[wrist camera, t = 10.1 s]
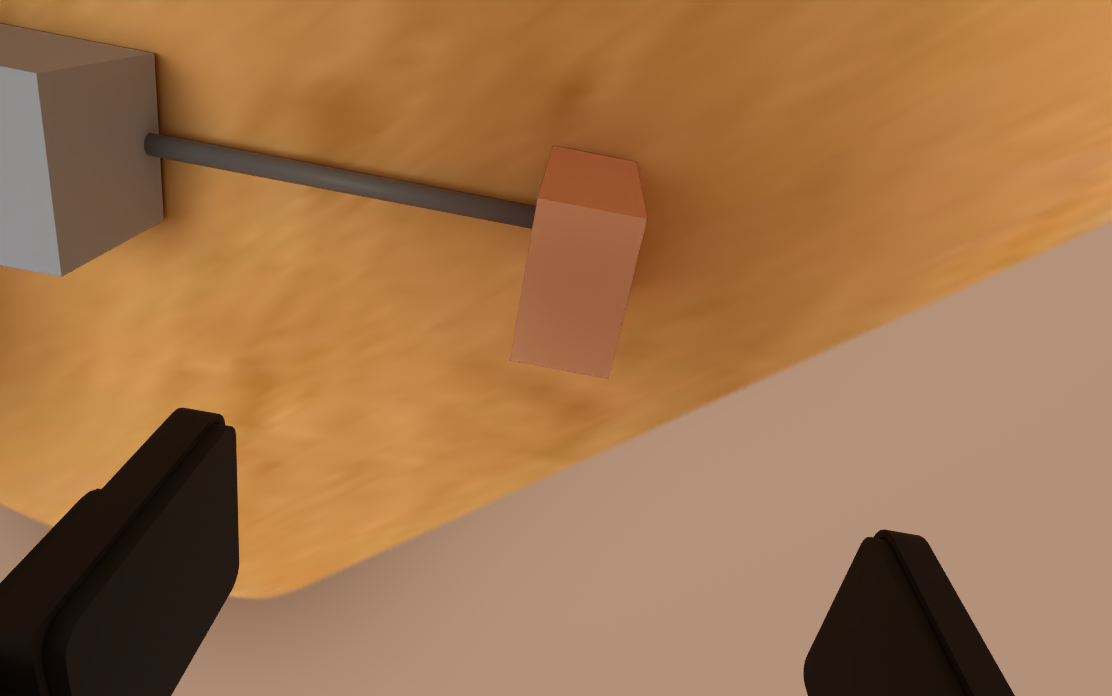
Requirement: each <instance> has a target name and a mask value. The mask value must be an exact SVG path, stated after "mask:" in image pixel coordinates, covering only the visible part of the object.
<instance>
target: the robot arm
mask: <svg viewBox="0 0 1112 696" xmlns="http://www.w3.org/2000/svg"><path fill="white" fill-rule="evenodd" d="M238 569H239V537H238V497H237V456H236V432H235V429H234V428H233V427H232V426H226V425H225V420H224V418H223V416H222V415H220V414H216V413H210V412H205V411H199V410H193V409H187V408H178V409H177V410H175V411H174V412H173V413H172V414H171V415H170V416H169V417H168V418H167V419H166V420H165V422H164V423H163V424H162V425H161V426H160V427H159V428H158V429H157V430H156V431H155V432H154V433H153V434H152V436H151V437H150V438H149V439H148V440H147V441H146V442H145V443H144V444H143V445H142V446H141V447H140V448H139V450H138V451H137V452H136V453H135V454H134V455H133V456H132V457H131V458H130V459H129V460H128V461H127V462H126V464H125V465H124V466H123V467H122V468H121V469H120V470H119V471H118V472H117V473H116V474H115V475H114V476H113V478H112V479H111V480H110V481H109V482H108V483H107V484H106V485H105V486H104V487H103V488H102V489H95V490H93V491H90V492H88V493H87V494H86V495H85V496H83V497H82V498H81V499H80V500H79V501H78V502H77V503H76V504H75V505H74V506H73V507H72V508H71V509H70V510H69V511H68V512H67V514H66V515H65V516H64V517H63V518H62V519H61V520H60V521H59V522H58V523H57V524H56V525H55V526H54V527H53V528H52V529H51V530H50V531H49V533H48V534H47V535H46V536H45V537H44V538H43V539H42V540H41V541H40V542H39V543H38V544H37V545H36V546H35V547H34V548H33V549H32V550H31V551H30V552H29V554H28V555H27V556H26V557H25V558H24V559H23V560H22V561H21V562H20V563H19V564H18V565H17V566H16V567H15V568H14V569H13V570H12V571H11V572H10V573H9V574H8V576H7V577H6V578H5V579H4V580H3V581H2V582H1V583H0V696H171V695H172V693H173V691H174V690H175V688H176V686H177V684H178V683H179V681H180V679H181V677H182V676H183V674H184V672H185V670H186V669H187V667H188V665H189V664H190V662H191V660H192V658H193V656H194V655H195V653H196V651H197V650H198V648H199V646H200V644H201V643H202V641H203V639H204V637H205V636H206V634H207V632H208V631H209V629H210V627H211V625H212V624H213V622H214V620H215V618H216V616H217V615H218V613H219V611H220V610H221V608H222V606H223V604H224V603H225V601H226V599H227V597H228V596H229V594H230V592H231V590H232V588H233V586H234V584H235V581H236V578H237V574H238ZM804 682H805V687H806V690H807V694H808V696H1015V695H1014V694H1013V692H1012V690H1011V688H1010V686H1009V685H1008V683H1007V681H1006V680H1005V678H1004V676H1003V674H1002V672H1001V671H1000V669H999V667H998V665H997V664H996V662H995V660H994V659H993V657H992V655H991V653H990V651H989V649H988V648H987V646H986V644H985V642H984V641H983V639H982V637H981V635H980V634H979V632H978V630H977V628H976V627H975V625H974V623H973V621H972V620H971V618H970V616H969V614H968V613H967V611H966V609H965V607H964V606H963V604H962V602H961V600H960V598H959V597H958V595H957V593H956V591H955V590H954V588H953V586H952V584H951V583H950V581H949V579H948V577H947V576H946V574H945V572H944V570H943V568H942V567H941V565H940V563H939V561H938V560H937V558H936V556H935V554H934V553H933V551H932V549H931V548H930V546H929V544H928V542H927V541H926V540H925V539H924V538H923V537H921V536H919V535H913V534H907V533H901V532H895V531H890V530H880V531H879V532H877V533H876V534H875V536H874V537H867V538H866V539H864V540H863V542H862V543H861V545H860V547H859V549H858V552H857V553H856V556H855V558H854V560H853V562H852V564H851V566H850V568H849V570H848V572H847V574H846V576H845V579H844V580H843V583H842V585H841V587H840V589H839V591H838V593H837V595H836V597H835V599H834V601H833V603H832V605H831V607H830V610H829V611H828V613H827V616H826V618H825V620H824V622H823V624H822V626H821V628H820V630H819V632H818V634H817V636H816V638H815V640H814V642H813V644H812V647H811V649H810V651H809V653H808V655H807V657H806V660H805V664H804Z"/></svg>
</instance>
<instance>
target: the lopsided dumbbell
mask: <svg viewBox="0 0 1112 696" xmlns="http://www.w3.org/2000/svg"><path fill="white" fill-rule="evenodd" d="M160 158H164V159H169V160H175V161H180V162H185V163H190V164H196V165H201V166H206V167H211V168H217V169H222V170H227V171H232V172H238V173H243V174H248V175H253V176H259V177H264V178H269V179H274V180H280V181H285V182H290V183H295V184H301V185H306V186H311V187H316V188H321V189H327V190H332V191H337V192H342V193H348V194H353V195H358V196H363V197H369V198H374V199H379V200H384V201H390V202H395V203H400V204H405V205H411V206H416V207H421V208H426V209H432V210H437V211H442V212H447V213H453V214H458V215H463V216H468V217H474V218H479V219H484V220H489V221H495V222H500V223H505V224H510V225H516V226H521V227H526V228H531V229H532V233H531V239H530V245H529V251H528V257H527V263H526V268H525V274H524V280H523V286H522V292H521V298H520V303H519V309H518V315H517V321H516V327H515V333H514V338H513V344H512V350H511V356H510V361H514V362H520V363H525V364H531V365H536V366H541V367H547V368H552V369H558V370H563V371H568V372H574V373H579V374H585V375H590V376H595V377H601V378H606V379H609V375H610V371H611V367H612V363H613V359H614V354H615V350H616V346H617V342H618V338H619V334H620V330H621V325H622V321H623V317H624V313H625V309H626V305H627V301H628V296H629V292H630V288H631V284H632V280H633V276H634V272H635V267H636V263H637V259H638V255H639V251H640V247H641V243H642V239H643V234H644V230H645V226H646V222H647V215H646V210H645V205H644V199H643V194H642V189H641V183H640V178H639V173H638V167H637V162H634V161H629V160H623V159H618V158H613V157H608V156H603V155H598V154H592V153H587V152H582V151H577V150H572V149H567V148H562V147H556V146H553V147H552V151H551V154H550V157H549V161H548V164H547V168H546V171H545V174H544V178H543V181H542V185H541V188H540V192H539V195H538V199H537V204H536V206H531V205H526V204H521V203H516V202H510V201H505V200H500V199H495V198H489V197H484V196H479V195H474V194H469V193H463V192H458V191H453V190H448V189H442V188H437V187H432V186H427V185H422V184H416V183H411V182H406V181H401V180H396V179H390V178H385V177H380V176H375V175H369V174H364V173H359V172H354V171H349V170H343V169H338V168H333V167H328V166H322V165H317V164H312V163H307V162H302V161H296V160H291V159H286V158H281V157H275V156H270V155H265V154H260V153H255V152H249V151H244V150H239V149H234V148H229V147H223V146H218V145H213V144H208V143H202V142H197V141H192V140H187V139H182V138H176V137H171V136H166V135H161V134H159V128H158V111H157V93H156V76H155V58H154V53H150V52H145V51H140V50H134V49H129V48H124V47H119V46H114V45H109V44H104V43H98V42H93V41H88V40H83V39H78V38H73V37H68V36H63V35H57V34H52V33H47V32H42V31H37V30H32V29H27V28H21V27H16V26H11V25H6V24H1V23H0V265H1V266H6V267H12V268H17V269H23V270H28V271H33V272H39V273H44V274H49V275H55V276H60V277H62V276H64V275H66V274H67V273H69V272H71V271H73V270H75V269H76V268H78V267H80V266H82V265H84V264H86V263H87V262H89V261H91V260H93V259H95V258H96V257H98V256H100V255H102V254H104V253H105V252H107V251H109V250H111V249H113V248H114V247H116V246H118V245H120V244H122V243H124V242H125V241H127V240H129V239H131V238H133V237H134V236H136V235H138V234H140V233H142V232H143V231H145V230H147V229H149V228H151V227H152V226H154V225H156V224H158V223H160V222H162V221H163V220H164V216H163V199H162V181H161V164H160Z"/></svg>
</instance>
